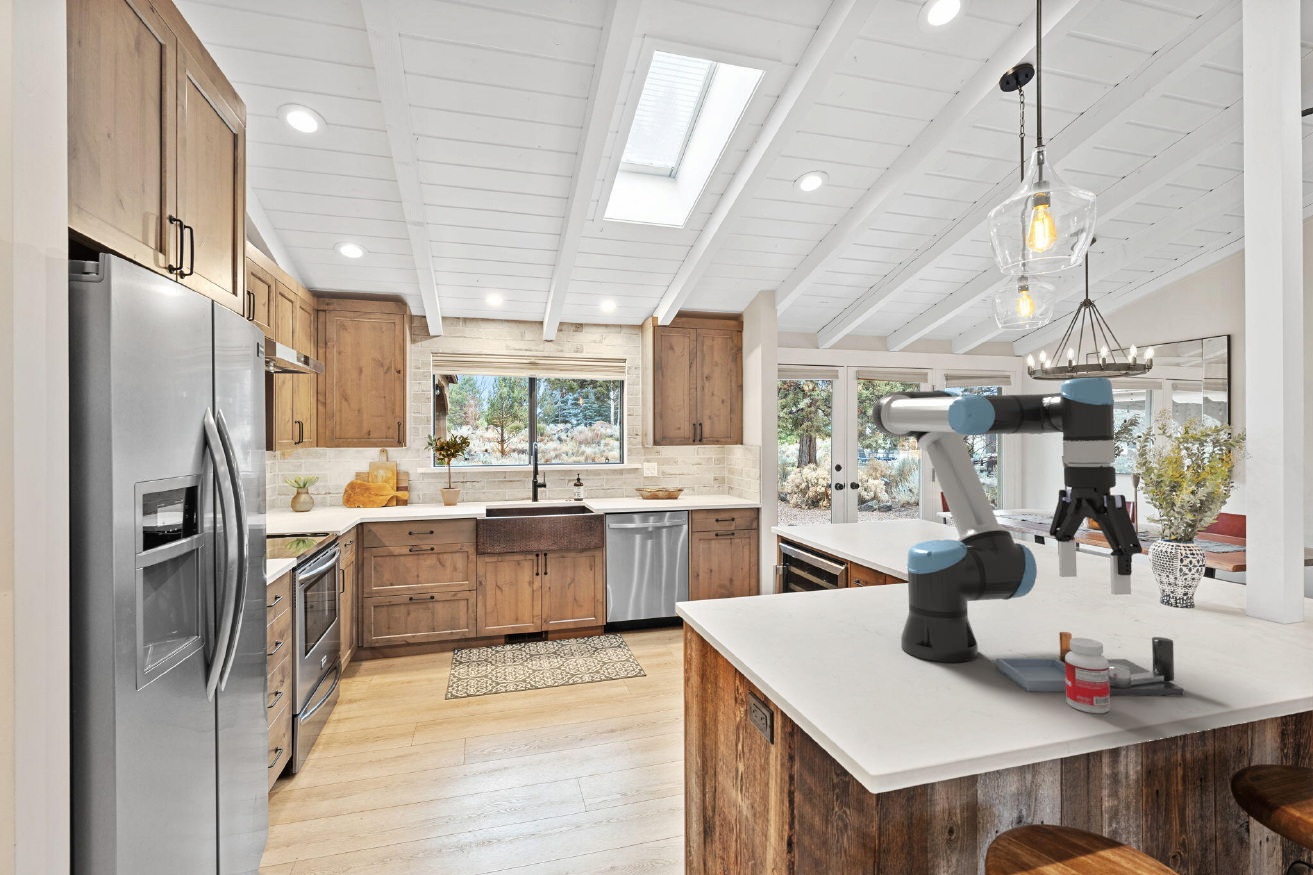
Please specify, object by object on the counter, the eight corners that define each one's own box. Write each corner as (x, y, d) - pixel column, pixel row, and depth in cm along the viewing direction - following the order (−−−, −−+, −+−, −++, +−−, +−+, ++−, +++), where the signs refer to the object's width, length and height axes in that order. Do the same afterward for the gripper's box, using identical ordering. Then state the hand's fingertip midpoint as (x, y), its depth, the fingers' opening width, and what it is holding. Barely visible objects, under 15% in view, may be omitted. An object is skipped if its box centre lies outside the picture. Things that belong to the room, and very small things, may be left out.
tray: (1027, 691, 112) (1027, 680, 112) (996, 667, 124) (995, 657, 124) (1093, 691, 111) (1092, 680, 111) (1055, 667, 123) (1055, 657, 123)
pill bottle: (1070, 696, 110) (1068, 633, 110) (1112, 705, 106) (1110, 641, 106) (1063, 707, 105) (1061, 642, 105) (1107, 718, 101) (1105, 650, 101)
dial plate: (1100, 695, 110) (1099, 654, 110) (1053, 665, 124) (1052, 629, 124) (1183, 695, 109) (1182, 654, 109) (1125, 665, 123) (1124, 629, 123)
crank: (1119, 688, 109) (1118, 648, 109) (1100, 680, 112) (1099, 642, 112) (1180, 680, 112) (1179, 642, 112) (1160, 673, 115) (1159, 635, 115)
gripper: (1167, 467, 97) (1171, 602, 97) (1065, 462, 122) (1068, 569, 122) (1118, 468, 97) (1123, 603, 97) (1026, 463, 122) (1030, 570, 122)
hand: (1093, 584), depth 110 cm, fingers open, 13 cm apart
